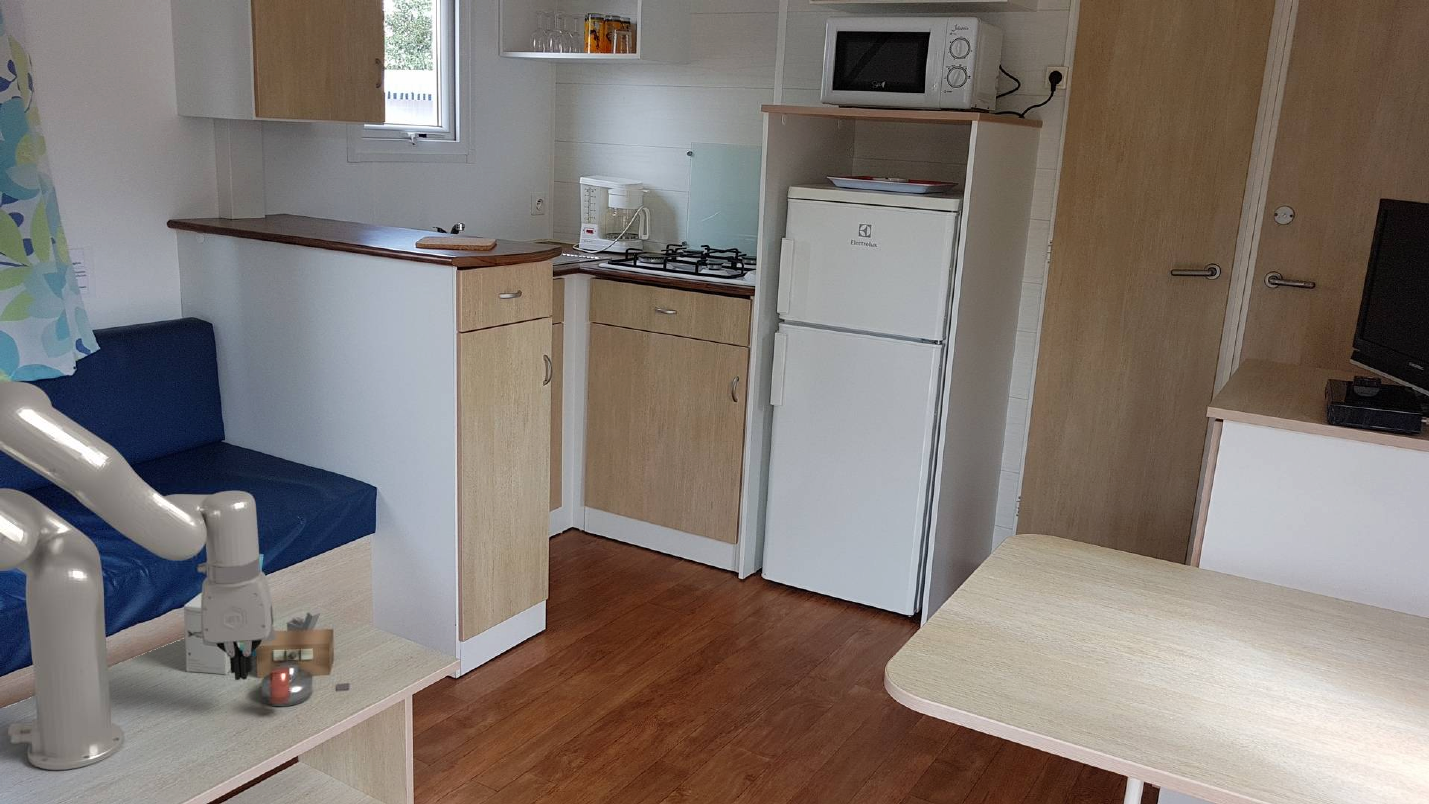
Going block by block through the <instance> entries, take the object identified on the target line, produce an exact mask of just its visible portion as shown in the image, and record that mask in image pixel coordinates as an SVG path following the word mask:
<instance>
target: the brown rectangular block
mask: <svg viewBox="0 0 1429 804" xmlns="http://www.w3.org/2000/svg"><path fill="white" fill-rule="evenodd" d="M274 631H275V634H276V636H275V639H274V640H273V641H270V642H267V643H262V644H260V645H259V646H258V647H257V656H256V669H257V670H256V671H257V678H258V679H263V678H264V677H265V676H267V675H268V674H270V670H271V669H273V668H276V667H278V665H279V664H280V663H283V662H287V661H293V662H296V663H298V669H301V670H305V671H308V672H309V673H310V674H311V675H312V676H330V675H331V672H332V668H333V664H334V660H335V653H334V652H335V650H334V649H335V647H334V646H335V642H334V640H335V639H334V628H327V629H324V628H323V629H313V630H293V631H287V630H274Z"/></svg>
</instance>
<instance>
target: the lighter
mask: <svg viewBox="0 0 1429 804" xmlns="http://www.w3.org/2000/svg"><path fill="white" fill-rule="evenodd" d="M320 615H321V613H320V612H319V611H318V609H316V608H313V609H311V610H308V611H307V614H306V616H305V618H302V617H300V616H296V617H292V619H291V620H289V621H287V622H286V631H293V630H315V627H316V624H317V622H318V620H319V617H320Z"/></svg>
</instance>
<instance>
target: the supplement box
mask: <svg viewBox="0 0 1429 804" xmlns="http://www.w3.org/2000/svg"><path fill="white" fill-rule="evenodd" d="M201 595H202V591H201V592H200V593H198V594H197V595H196V596H195V597H194V598H192V599H191V600H190V601H189V602H187V603H185V604H184V606H183V615H184V616H183V617H184V639H185V669H186V672H192V673H193V672H195V673H207V674H208V673H209V674H219V675H227V674H228V673H229V672H231V664H230V657H228V656H227V653H225V652H224V651H223V650H221V649H220V648H219V647H217V646H208V645H204V644H203V638H202V633H201ZM237 643H238V647H239V648H240V642H237Z"/></svg>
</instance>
